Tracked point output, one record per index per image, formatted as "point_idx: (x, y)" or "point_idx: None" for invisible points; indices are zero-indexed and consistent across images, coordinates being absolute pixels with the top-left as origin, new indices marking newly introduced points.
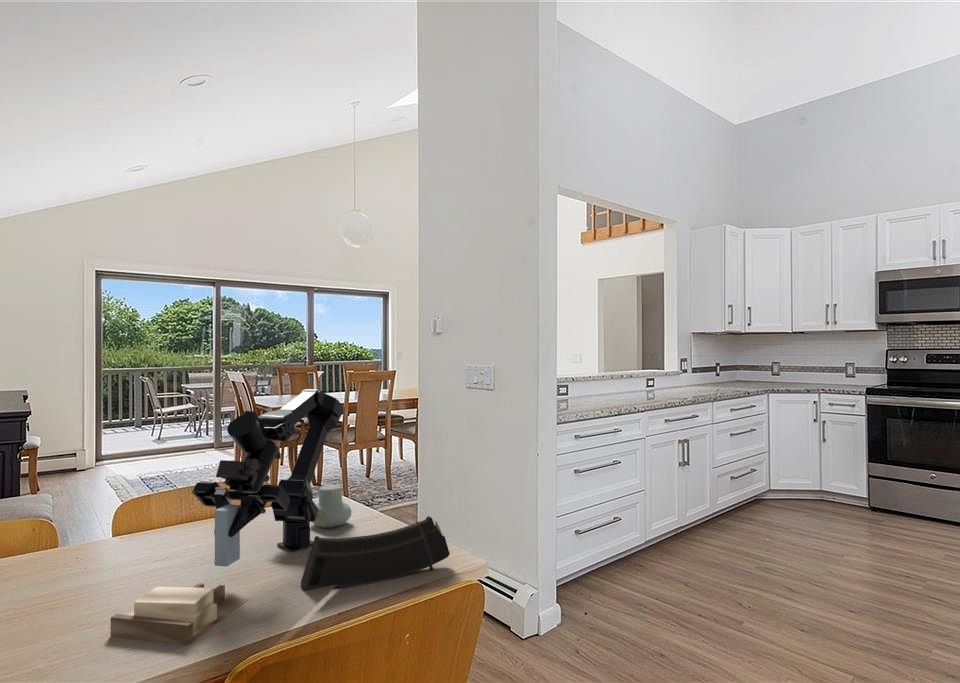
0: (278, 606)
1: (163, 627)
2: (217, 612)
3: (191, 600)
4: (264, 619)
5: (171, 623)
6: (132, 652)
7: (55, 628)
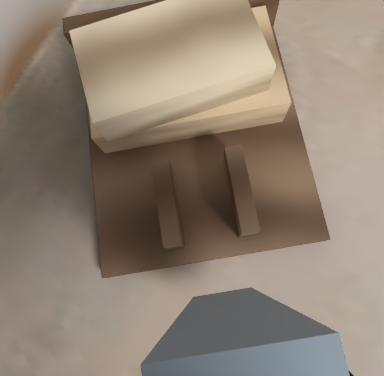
0: (21, 296)
1: None
2: (128, 178)
3: (91, 40)
4: (16, 220)
5: (107, 10)
6: None
7: None
